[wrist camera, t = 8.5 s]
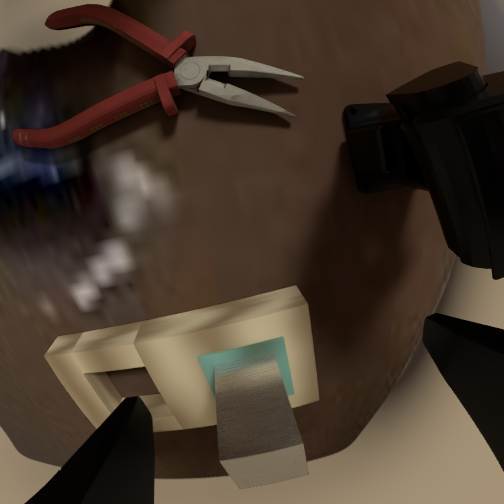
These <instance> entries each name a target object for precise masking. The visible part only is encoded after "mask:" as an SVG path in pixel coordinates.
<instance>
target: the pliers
mask: <svg viewBox="0 0 504 504" xmlns="http://www.w3.org/2000/svg"><path fill="white" fill-rule="evenodd" d="M45 25H46V26H47V27H48V28H50V29H53V30H67V29H72V28H78V27H84V26H95V25H100V26H103V27H106V28H108V29H110V30H112V31H113V32H115V33H117V34H118V35H120V36H122V37H123V38H125V39H127V40H128V41H130V42H132V43H133V44H135V45H136V46H138V47H140V48H141V49H143V50H144V51H146V52H147V53H149V54H150V55H152V56H153V57H155V58H156V59H158V60H159V61H161V62H162V63H164V64H165V65H167V66H168V67H170V68H171V69H173V70H174V73H173V71H170V72H167V73H162V74H160V75H157V76H155V77H154V78H152V79H149V80H147V81H144V82H142V83H140V84H137V85H135V86H133V87H131V88H128V89H126V90H124V91H122V92H120V93H118V94H116V95H113V96H111V97H109V98H107V99H105V100H103V101H102V102H100V103H98V104H96V105H94V106H92V107H90V108H88V109H87V110H85V111H83V112H81V113H79V114H78V115H76V116H74V117H73V118H71V119H69V120H67V121H65V122H63V123H61V124H59V125H56V126H53V127H50V128H46V129H14V130H13V139H14V141H15V142H16V143H17V144H18V145H20V146H24V147H37V148H48V149H55V148H60V147H63V146H66V145H69V144H72V143H74V142H77V141H79V140H81V139H83V138H85V137H87V136H89V135H91V134H93V133H95V132H96V131H98V130H100V129H102V128H104V127H106V126H108V125H110V124H112V123H114V122H116V121H118V120H120V119H123V118H125V117H127V116H129V115H131V114H133V113H136V112H138V111H140V110H143V109H145V108H147V107H150V106H152V105H154V104H157V103H159V102H162V105H163V107H164V110H165V112H166V113H167V114H168V115H169V116H173V115H175V114H178V113H179V112H178V109H177V106H176V103H175V100H174V97H176V96H178V95H181V91H180V89H183V90H186V91H189V92H192V93H195V94H198V95H201V96H204V97H207V98H210V99H213V100H216V101H219V102H222V103H225V104H229V105H234V106H240V107H246V108H251V109H257V110H262V111H267V112H272V113H277V114H281V115H286V116H290V117H295V115H294V114H292V113H290V112H288V111H287V110H285V109H283V108H281V107H279V106H277V105H275V104H273V103H271V102H269V101H267V100H265V99H263V98H260V97H258V96H256V95H254V94H252V93H250V92H248V91H245V90H243V89H240V88H238V87H235V86H233V85H230V84H228V83H227V84H223V83H221V82H218V81H215V80H212V79H210V78H207V74H208V77H209V75H210V73H211V72H212V71H226V72H227V73H228V75H229V77H247V78H284V79H300V80H302V79H304V77H302V76H299V75H296V74H293V73H290V72H287V71H284V70H281V69H278V68H275V67H271V66H268V65H264V64H261V63H257V62H253V61H250V60H246V59H242V58H235V57H220V56H203V57H189V54H188V52H189V51H190V50H191V49H192V48H193V47H194V46H195V45H196V38H195V35H193V34H192V33H190V32H188V31H184V32H182V33H181V34H180V35H179V36H177V37H176V38H175V39H174V40H173V41H172V42H171V41H169V40H168V39H166V38H165V37H163V36H162V35H160V34H158V33H157V32H155V31H153V30H152V29H150V28H148V27H147V26H145V25H143V24H141V23H140V22H138V21H136V20H134V19H133V18H131V17H129V16H127V15H125V14H123V13H121V12H120V11H118V10H115V9H113V8H110V7H107V6H102V5H97V4H86V5H81V6H76V7H72V8H67V9H63V10H59V11H56V12H54V13H52V14H51V15H50V16H49V17H48V18H47V20H46V22H45Z"/></svg>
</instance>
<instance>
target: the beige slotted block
mask: <svg viewBox="0 0 504 504" xmlns="http://www.w3.org/2000/svg"><path fill="white" fill-rule="evenodd" d="M272 351H273V352H274V355H275V358H276V361H277V364H278V367H279V371H280V374H281V377H282V380H283V383H284V386H285V389H286V392H287V395H288V399H289V402H290V405H291V408H294V407H298V406H301V405H305V404H308V403H312V402H315V401H318V400H319V393H318V383H317V374H316V364H315V356H314V347H313V339H312V331H311V324H310V316H309V309H308V303H307V302H306V300H305V299H304V297H303V296H302V294H301V292H300V291H299V289H298V288H297V286H296V285H295V286H291V287H287V288H283V289H280V290H276V291H272V292H268V293H264V294H260V295H256V296H252V297H248V298H244V299H240V300H236V301H232V302H228V303H223V304H219V305H215V306H211V307H206V308H202V309H197V310H193V311H189V312H184V313H179V314H175V315H170V316H165V317H161V318H156V319H151V320H146V321H141V322H136V323H131V324H126V325H121V326H116V327H110V328H105V329H99V330H94V331H88V332H82V333H77V334H71V335H64V336H58V337H57V338H56V340H55V341H54V343H53V344H52V345H51V347H50V348H49V350H48V351H47V353H46V354H45V355H44V356H45V358H46V360H47V361H48V363H49V365H50V366H51V368H52V369H53V371H54V372H55V374H56V375H57V377H58V378H59V380H60V381H61V383H62V384H63V386H64V387H65V389H66V390H67V391H68V393H69V394H70V396H71V397H72V398H73V400H74V401H75V402H76V404H77V405H78V406H79V408H80V409H81V410H82V411H83V413H84V414H85V415H86V416H87V418H88V419H89V420H90V421H91V422H92V424H93V425H94V426H95V427H96V428H98V427H99V426H100V425H101V424H102V423H103V422H104V421H105V420H106V418H107V417H108V416H109V415H110V414H111V413H112V412H113V411H114V410H115V409H116V407H117V406H118V405H119V404H120V403H121V402H122V401H123V400H124V399H125V398H122V397H121V395H120V394H119V392H118V391H117V389H116V388H115V386H114V385H113V383H112V381H111V380H110V378H109V377H108V375H107V373H106V372H105V371H114V370H122V369H129V368H137V367H144V366H145V367H146V369H147V371H148V373H149V375H150V376H151V378H152V380H153V382H154V383H155V385H156V387H157V389H158V390H159V392H160V394H155V395H146V396H139V397H140V398H141V399H142V400H143V402H144V403H145V405H146V406H147V408H148V409H149V411H150V412H151V415H152V418H153V432H160V431H172V430H181V429H190V428H198V427H205V426H211V425H217V417H216V397H215V372H214V365H216V364H221V363H226V362H230V361H235V360H239V359H244V358H248V357H252V356H256V355H260V354H264V353H268V352H272Z"/></svg>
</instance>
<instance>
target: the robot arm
mask: <svg viewBox="0 0 504 504" xmlns="http://www.w3.org/2000/svg"><path fill="white" fill-rule="evenodd" d="M386 96H387V98H388V100H389V102H390V103H371V104H351V105H348V106H346V107H345V109H344V113H345V118H346V122H347V127H348V133H347V138H348V144H349V149H350V155H351V161H352V167H353V168H354V169H355V173H356V180H357V187H358V190H359V191H360V192H361V193H364V194H369V193H374V192H379V191H384V190H389V189H394V188H400V187H405V186H407V187H411V188H416V189H421V190H425V191H429V193H430V196H431V199H432V201H433V204H434V207H435V210H436V213H437V216H438V219H439V222H440V225H441V228H442V232H443V235H444V238H445V240H446V243H447V245H448V248H449V249H451V250H452V251H453V252H454V253H455V254H456V255H457V256H459V257H460V260H461V262H462V263H464V264H466V265H469V266H471V267H477V268H484V269H492V278H493V279H495V280H497V279H500V278H503V277H504V71H502V72H498V73H493V74H489V75H484V76H482V74H481V72H480V70H479V68H478V67H476V66H473V65H470V64H466V63H463V62H460V61H459V62H455V63H452V64H448V65H445V66H442V67H439V68H436V69H433V70H431V71H429V72H427V73H425V74H423V75H421V76H419V77H417V78H415V79H413V80H412V81H410V82H408V83H406V84H404V85H402V86H400V87H399V88H397V89H395V90H393V91H391V92H390V93H388V94H386ZM350 109H352V110H353V111H354V114H351V113H350ZM364 184H366V189H365V190H364V189H363V185H364ZM422 340H423V343H424V345H425V347H426V349H427V350H428V352H429V354H430V355H431V357H432V359H433V360H434V362H435V364H436V366H437V368H438V369H439V371H440V373H441V374H442V376H443V378H444V379H445V381H446V382H447V384H448V385H449V386H450V388H451V389H452V391H453V392H454V393H455V395H456V396H457V398H458V399H459V400H460V402H461V403H462V405H463V406H464V408H465V409H466V411H467V412H468V414H469V415H470V417H471V418H472V420H473V421H474V423H475V424H476V426H477V428H478V429H479V431H480V432H481V434H482V435H483V437H484V438H485V440H486V442H487V443H488V445H489V447H490V448H491V450H492V452H493V453H494V455H495V457H496V459H497V460H498V462H499V464H500V466H501V468H502V469H503V471H504V330H503V329H500V328H495V327H491V326H487V325H483V324H479V323H475V322H471V321H467V320H463V319H459V318H455V317H451V316H447V315H443V314H439V313H434V314H432V315H430V316H427V317H426V318H425V321H424V328H423V335H422ZM154 477H155V452H154V437H153V418H152V415H151V412H150V411H149V409H148V408H147V406H146V405H145V403H144V402H143V400H142V399H141V398H140V397H139V396H129V397H126V398H125V399H124V400H123V401H122V402H121V403H120V404H119V405H118V406H117V407H116V409H115V410H114V411H113V412H112V413H111V414H110V415H109V416H108V417H107V418H106V420H105V421H104V422H103V423H102V424H101V425H100V426H99V427H98V428H97V429H96V431H95V432H94V433H93V434H92V435H91V436H90V437H89V438H88V439H87V440H86V442H85V443H84V444H83V445H82V446H81V447H80V448H79V449H78V450H77V451H76V452H75V454H74V455H73V456H72V457H71V458H70V459H69V460H68V461H67V462H66V463H65V464H64V466H63V467H62V468H61V470H59V471H58V472H57V473H56V474H55V475H54V476H53V477H52V478H51V480H50V481H49V482H48V483H47V484H46V485H45V486H44V487H43V488H41V489H40V490H39V491H38V492H37V493H36V494H35V495H34V496H33V497H32V498H30V499H29V500H28V501H27V502H26V503H25V504H154Z"/></svg>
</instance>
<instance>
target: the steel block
mask: <svg viewBox="0 0 504 504" xmlns="http://www.w3.org/2000/svg"><path fill="white" fill-rule="evenodd" d="M214 372H215V397H216V417H217V434H218V450H219V461H220V463H221V464H222V466H223V467H224V468H225V470H226V471H227V473H228V474H229V475H230V477H231V478H232V479H233V481H234V482H235V483H236V484H237V486H238V487H239V488H240V489H244V488H250V487H255V486H261V485H266V484H271V483H276V482H281V481H285V480H289V479H293V478H297V477H301V476H304V475H308V474H309V473H308V467H307V462H306V456H305V451H304V445H303V441H302V438H301V435H300V432H299V429H298V426H297V423H296V420H295V417H294V414H293V411H292V408H291V405H290V402H289V399H288V395H287V392H286V389H285V386H284V383H283V380H282V377H281V374H280V371H279V367H278V364H277V361H276V358H275V355H274V352H273V351H272V352H268V353H264V354H260V355H256V356H252V357H248V358H244V359H239V360H235V361H230V362H226V363H221V364H216V365H214Z"/></svg>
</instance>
